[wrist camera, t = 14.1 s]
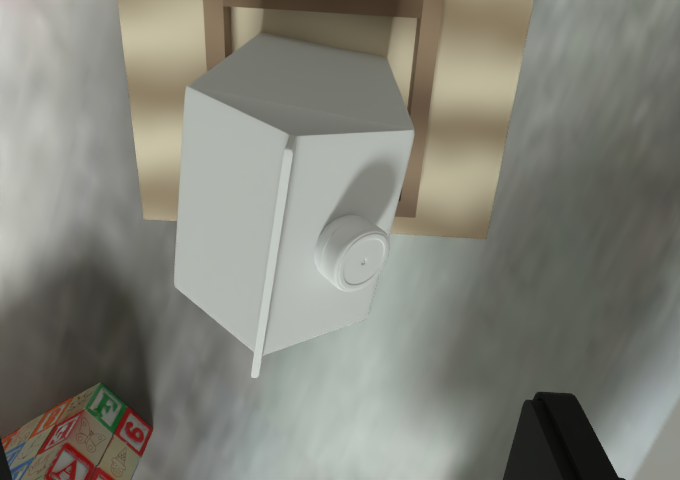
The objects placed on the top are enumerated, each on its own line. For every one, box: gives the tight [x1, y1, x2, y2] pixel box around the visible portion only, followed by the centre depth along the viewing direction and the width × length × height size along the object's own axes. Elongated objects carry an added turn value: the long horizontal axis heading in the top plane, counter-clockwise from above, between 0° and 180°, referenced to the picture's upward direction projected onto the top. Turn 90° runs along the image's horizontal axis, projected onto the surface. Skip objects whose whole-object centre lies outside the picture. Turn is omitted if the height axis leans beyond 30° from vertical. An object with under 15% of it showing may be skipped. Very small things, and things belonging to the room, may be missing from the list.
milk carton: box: [174, 32, 415, 378], centre depth 23 cm, size 7×7×19 cm
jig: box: [118, 0, 534, 239], centre depth 31 cm, size 16×22×3 cm
